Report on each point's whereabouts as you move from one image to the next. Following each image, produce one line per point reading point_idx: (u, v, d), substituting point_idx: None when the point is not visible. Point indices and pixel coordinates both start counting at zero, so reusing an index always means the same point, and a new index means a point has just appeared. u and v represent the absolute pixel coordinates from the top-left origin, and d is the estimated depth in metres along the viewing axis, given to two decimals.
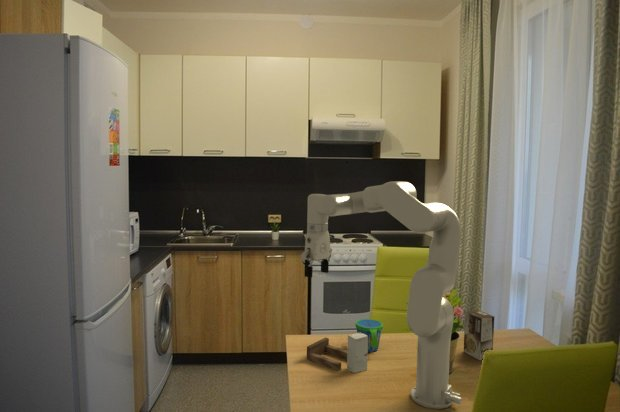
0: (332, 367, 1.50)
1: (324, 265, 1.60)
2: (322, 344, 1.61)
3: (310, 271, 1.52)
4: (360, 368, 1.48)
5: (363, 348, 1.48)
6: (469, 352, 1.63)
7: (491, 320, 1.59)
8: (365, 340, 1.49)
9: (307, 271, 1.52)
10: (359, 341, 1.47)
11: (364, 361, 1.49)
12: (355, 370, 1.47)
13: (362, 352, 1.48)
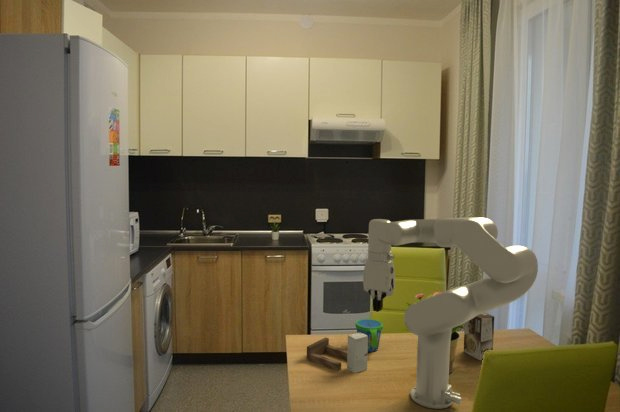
0: (332, 367, 1.50)
1: None
2: (322, 344, 1.61)
3: None
4: (360, 368, 1.48)
5: (363, 348, 1.48)
6: (469, 352, 1.63)
7: (491, 320, 1.59)
8: (365, 340, 1.49)
9: (382, 304, 1.43)
10: (359, 341, 1.47)
11: (364, 361, 1.49)
12: (355, 370, 1.47)
13: (362, 352, 1.48)
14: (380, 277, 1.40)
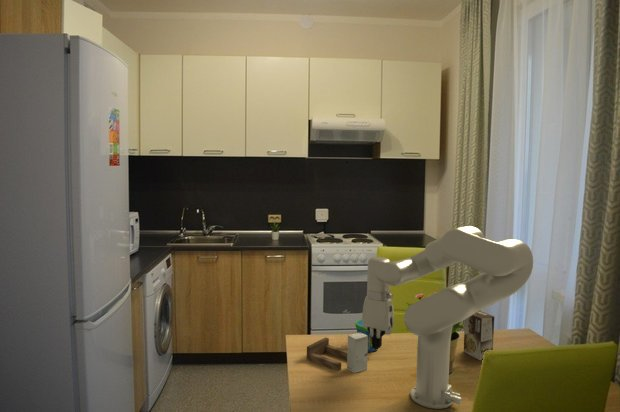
0: (332, 367, 1.50)
1: None
2: (322, 344, 1.61)
3: None
4: (360, 368, 1.48)
5: (363, 348, 1.48)
6: (469, 352, 1.63)
7: (491, 320, 1.59)
8: (365, 340, 1.49)
9: (380, 342, 1.44)
10: (359, 341, 1.47)
11: (364, 361, 1.49)
12: (355, 370, 1.47)
13: (362, 352, 1.48)
14: (379, 316, 1.41)
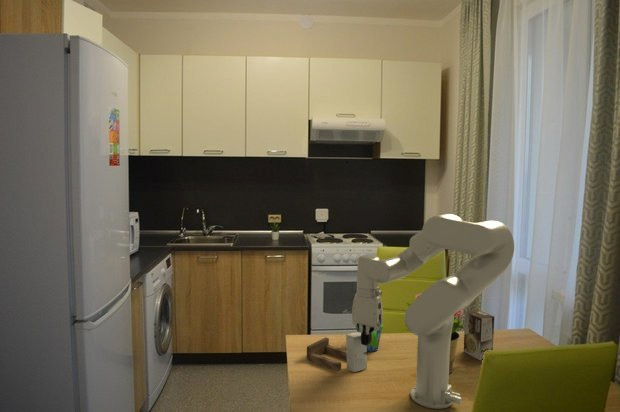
0: (332, 367, 1.50)
1: None
2: (322, 344, 1.61)
3: None
4: (360, 367, 1.48)
5: (362, 346, 1.49)
6: (469, 352, 1.63)
7: (491, 320, 1.59)
8: None
9: (369, 338, 1.47)
10: (357, 339, 1.48)
11: (363, 360, 1.49)
12: (355, 369, 1.47)
13: (361, 350, 1.49)
14: (368, 313, 1.44)
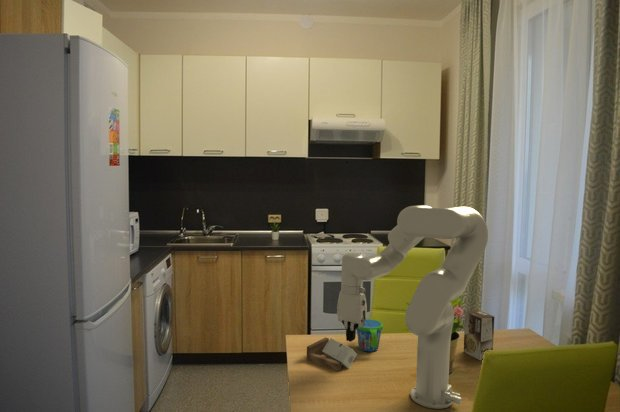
0: (332, 367, 1.50)
1: None
2: (322, 344, 1.61)
3: None
4: (344, 355, 1.50)
5: (334, 345, 1.56)
6: (469, 352, 1.63)
7: (491, 320, 1.59)
8: (331, 341, 1.58)
9: (354, 334, 1.50)
10: (326, 347, 1.58)
11: (343, 348, 1.52)
12: (342, 360, 1.49)
13: (336, 348, 1.55)
14: (352, 310, 1.47)
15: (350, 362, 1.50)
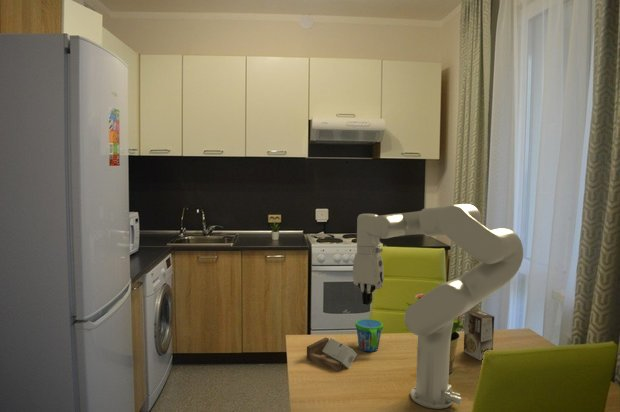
0: (332, 367, 1.50)
1: None
2: (322, 344, 1.61)
3: None
4: (344, 355, 1.50)
5: (334, 345, 1.56)
6: (469, 352, 1.63)
7: (491, 320, 1.59)
8: (331, 341, 1.58)
9: (371, 297, 1.45)
10: (326, 347, 1.58)
11: (343, 348, 1.52)
12: (342, 360, 1.49)
13: (336, 348, 1.55)
14: (369, 271, 1.42)
15: (350, 362, 1.50)
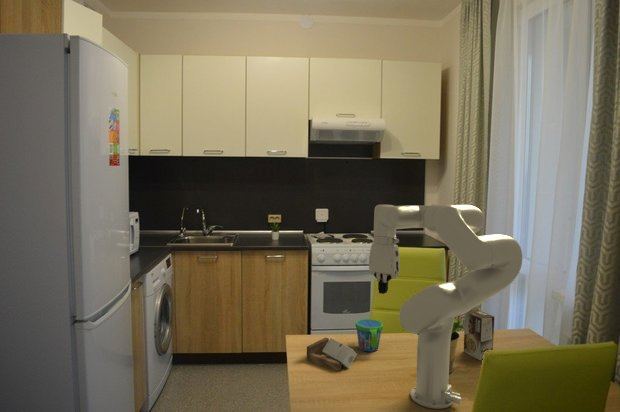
0: (332, 367, 1.50)
1: None
2: (322, 344, 1.61)
3: None
4: (344, 355, 1.50)
5: (334, 345, 1.56)
6: (469, 352, 1.63)
7: (491, 320, 1.59)
8: (331, 341, 1.58)
9: (387, 287, 1.48)
10: (326, 347, 1.58)
11: (343, 348, 1.52)
12: (342, 360, 1.49)
13: (336, 348, 1.55)
14: (386, 260, 1.45)
15: (350, 362, 1.50)
